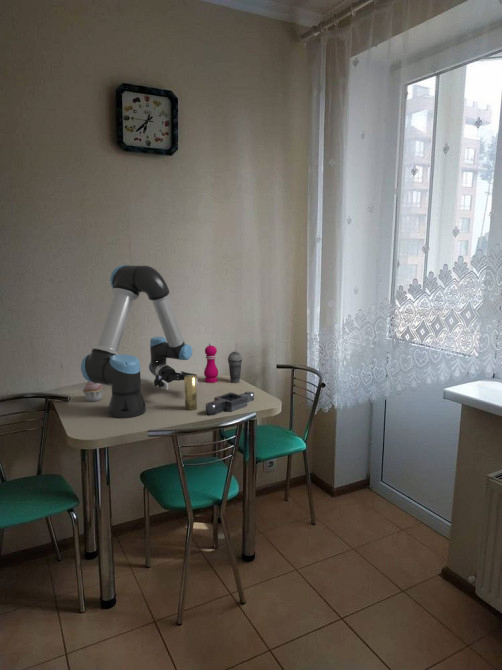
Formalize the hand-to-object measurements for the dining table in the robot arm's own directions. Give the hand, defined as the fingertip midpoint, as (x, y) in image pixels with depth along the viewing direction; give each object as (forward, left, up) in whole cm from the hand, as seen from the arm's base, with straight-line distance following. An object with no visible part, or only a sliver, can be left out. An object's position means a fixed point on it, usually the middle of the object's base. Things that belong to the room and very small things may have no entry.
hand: (182, 384), depth 213 cm
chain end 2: (+14, -20, -8) cm, 26 cm away
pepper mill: (+32, +14, -8) cm, 35 cm away
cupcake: (-23, +33, -8) cm, 41 cm away
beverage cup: (+39, +4, -8) cm, 40 cm away
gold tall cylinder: (-3, -9, -8) cm, 13 cm away
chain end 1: (+5, -20, -8) cm, 22 cm away
